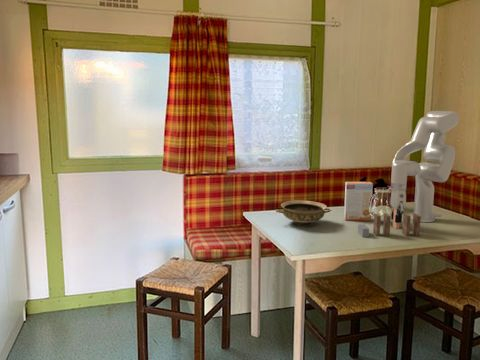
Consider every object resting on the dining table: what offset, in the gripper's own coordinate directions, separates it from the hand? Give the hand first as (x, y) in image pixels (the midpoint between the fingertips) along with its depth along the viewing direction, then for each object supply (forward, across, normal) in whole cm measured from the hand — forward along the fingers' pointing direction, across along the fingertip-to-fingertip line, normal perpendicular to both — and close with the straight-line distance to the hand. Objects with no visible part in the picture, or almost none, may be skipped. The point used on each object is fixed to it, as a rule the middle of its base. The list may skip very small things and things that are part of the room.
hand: (396, 220), depth 229 cm
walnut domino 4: (+3, -13, -5) cm, 14 cm away
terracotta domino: (+3, 0, 0) cm, 3 cm away
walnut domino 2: (+3, -13, +9) cm, 16 cm away
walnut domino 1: (+3, -13, +14) cm, 20 cm away
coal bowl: (+4, +40, 0) cm, 40 cm away
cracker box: (+4, +15, +16) cm, 22 cm away
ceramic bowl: (+4, +7, +47) cm, 48 cm away
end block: (+3, -13, +21) cm, 25 cm away
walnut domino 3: (+3, -13, 0) cm, 13 cm away
